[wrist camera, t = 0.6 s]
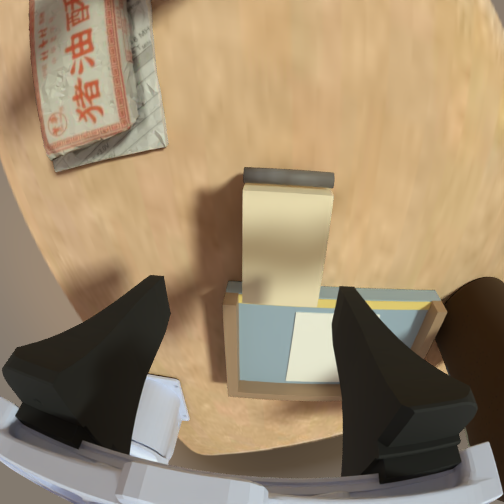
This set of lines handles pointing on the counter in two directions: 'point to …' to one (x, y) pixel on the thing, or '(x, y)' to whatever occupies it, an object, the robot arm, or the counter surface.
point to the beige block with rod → (284, 235)
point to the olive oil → (478, 358)
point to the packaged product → (95, 79)
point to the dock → (311, 340)
